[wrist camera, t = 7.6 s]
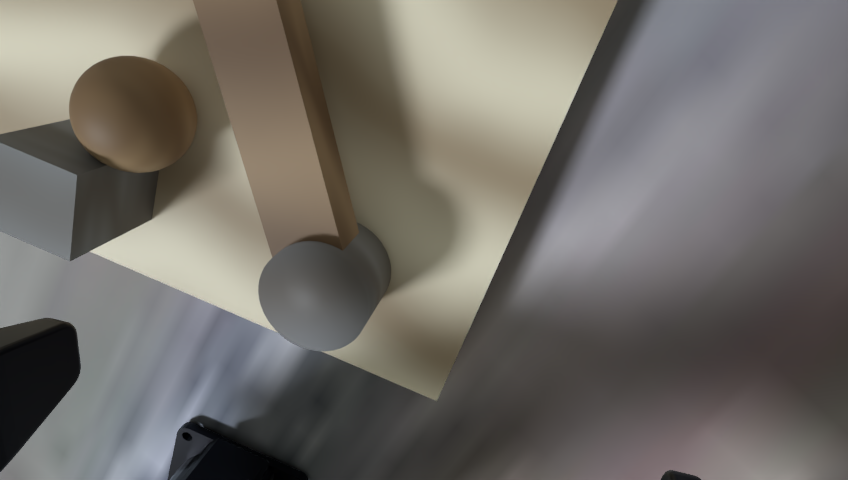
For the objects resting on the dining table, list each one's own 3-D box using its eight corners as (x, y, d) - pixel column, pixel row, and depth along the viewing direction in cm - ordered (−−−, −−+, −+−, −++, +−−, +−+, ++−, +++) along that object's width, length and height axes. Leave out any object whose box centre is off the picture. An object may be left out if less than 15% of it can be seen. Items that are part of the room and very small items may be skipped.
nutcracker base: (444, 378, 23) (412, 478, 18) (9, 192, 24) (-131, 238, 19) (703, -200, 15) (775, -305, 10) (29, -435, 16) (-205, -633, 11)
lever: (401, 307, 20) (276, 540, 11) (309, 315, 21) (127, 536, 12) (269, -243, 15) (-151, -618, 6) (156, -200, 16) (-352, -469, 7)
